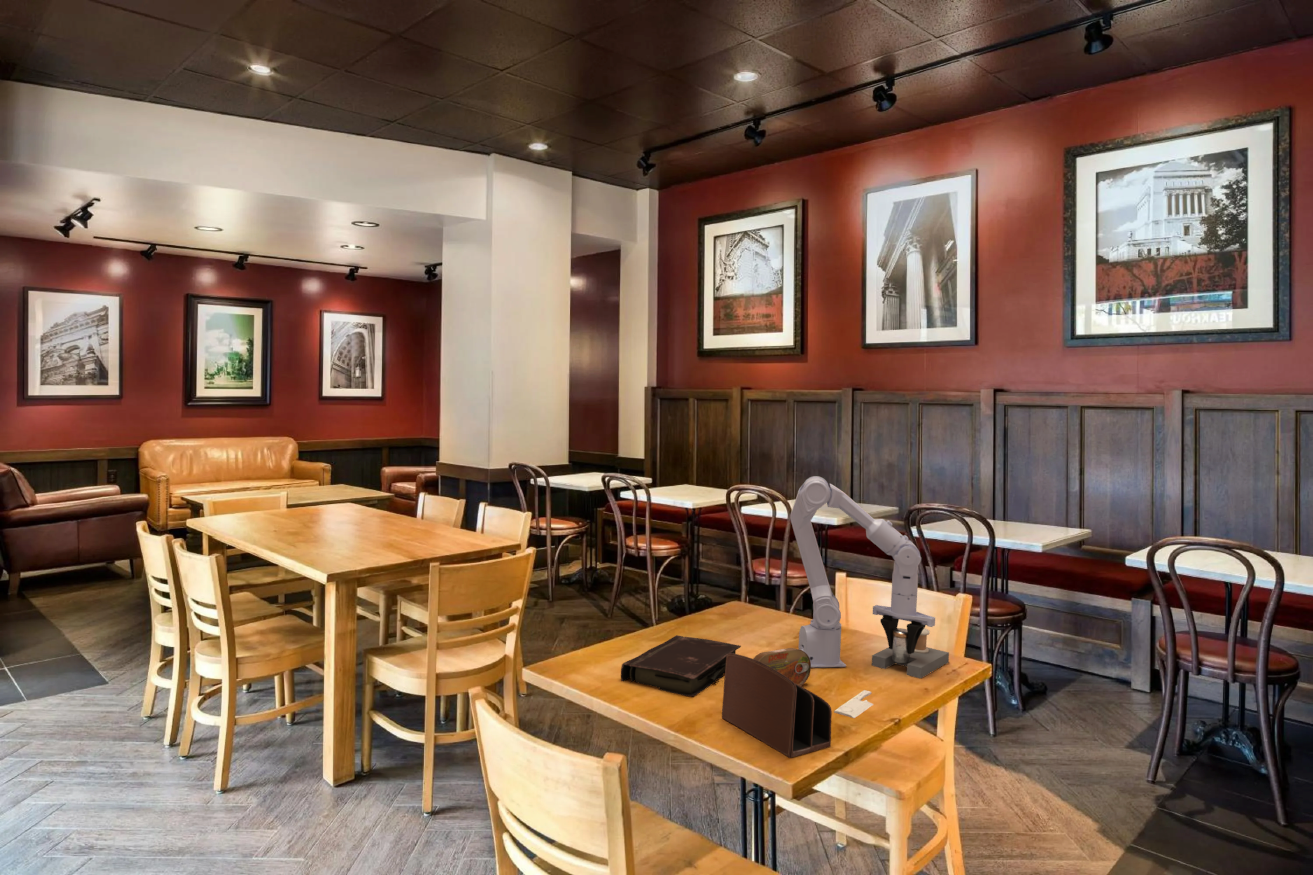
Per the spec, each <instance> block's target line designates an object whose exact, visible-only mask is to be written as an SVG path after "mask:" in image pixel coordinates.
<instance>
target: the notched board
mask: <svg viewBox="0 0 1313 875" xmlns="http://www.w3.org/2000/svg"><path fill="white" fill-rule="evenodd" d="M930 632H931V631H930V630H929V629H927V628H926V627H925V628H924V629H923V631H922V633H921V634H920V636H919V638H918V641H917V644H916V647H915V651H914V653H912V654H910V662H908V663H899V662H895V661H893V660H892V649H889V646H888V647H886V648H884V649H882V650H880V651H878V652H876V653H874V654H872V655H871V666H873V667H876V668H880V669H884V670H886V669H887V668H889V667H891V666H894V665H898V666H902V667H906V676H909V677H914V678H917V679H920V678H921V679H922V678H924V677H926V676H927V675H930V674H931V673H933V672H934V670H935V671H936V669H937V668H938V669H940V668H941V666H942V667H943V665H944V664H945V665H948V664H949V663H950V662H949V660H950V659H949V658H950V652H948V651H944V650H940V649H937V648H932V647H928V646H927V639H928V635H930ZM945 665H944V666H945ZM938 669H937V670H938ZM932 671H933V672H932ZM930 672H931V673H930Z"/></svg>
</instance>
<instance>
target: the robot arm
mask: <svg viewBox="0 0 1313 875" xmlns="http://www.w3.org/2000/svg"><path fill="white" fill-rule="evenodd" d="M824 505H827V508H832V509H838V510H841V511H842V512H843V513H845V514H846V515H847V516H848V517H850V518H851V519H852V520H853V521H855V522H856V523H857V524H859V525H860V526H861V527H862V528H863V529H865V535H866V538H867V539H868V540H869V541H870V542H872V543H873V544H874V545H876V547H878V548H879V549H880V550H881V551H882V552H884V554H886V555H888V556H891V557H892V559H893V560H894V561H893V570H892V573H891V574H892V576H891V577H892V580H891V595H890V600H891V601H890V606H886V605H878V604H876V605H873V606H872V615H874V616H882V618H880V624H881V626H882V627H883V630H884V633H885V635H886V640H887V644H888V647H889V649H892V646H893V629H896V628H898V625H899V621H900V620H901V621H905V622H911V623H907V624H906V629H907V632H908V654H912V653H914V651H915V647H916V644H917V641H918V638H919V636H920V634H921V633H922V631H923V629H924V628H925V629H926V626H927V627H930V628H933V627H935V625H936V617H935V616H931V615H928V614H925V613H922V612H918V611H917V608H918V607H917V605H918V601H917V600H918V588H919V587H918V586H919V573H918V572H919V565H920V563H921V562H922V557H921V552H920V550H919V548H917V545H915V544H914V543H913V541H912V540H910V539H909V537H908V536H907V535H906V534H904V535H903V534H901V533H900V532H899V531H898V530H897V529H895V527H893V525H894V524H893V523H892V521H890V520H889V519H888V520H885V519H884V518H874V517H872V516H871V515H870V514H869V513H868V512H867V511H866V510H865V509H863V507H861V506H860V505H859V504H858V503H857V502H856V501H854V500H853V499H852V498H851V497H850V496H849V495H848V494H846V493H845V492H844V491H842V490H841V489H840V488H838V487H837V486H835V485H833V484H832V483H828V481H827V480H826V479H825V478H823V477H821V476H819V475H818V476H816V475H813V476H810V477H808V478H807V479H806V480H805V481H804V483H802V485H800V487H799V489H798V491H797V494H796V498H795V501H794V504H793V505H792V510H791V511H790V523H791V525H792V529H793V534H794V536H795V540H796V543H797V547H798V550H799V553H800V554H799V555H800V558H801V562H802V565H803V569H804V571H805V574H806V578H807V581H808V582H807V583H808V585H809V588H810V593H811V597H812V602H813V604H812V610H813V612H812V613H813V615H812V616H813V618H812V619H811V620H810V623H809V624H806V625H801V626H800V629H799V633H798V649H799V650H802V651H804V652H805V653H806V654H807V655H808V657H809V659H810V662H811V668H846V667H847V664H846V663H845V662H844V661H842V660H841V644H842V641H841V640H842V623H841V619H842V613H841V609H840V601H839V600H838V598H837V597H836V596H835V595H834V593H833V591H832V588H831V586H830V583H829V580H828V575H827V572H826V568H825V566H824V563H823V562H824V561H823V557H822V556H821V551H820V548H819V545H818V541H817V538H816V535H815V531H814V527H813V524H812V520H813V518H814V516H815V515H816V513H817V511H819V509H820V508H822V507H823V506H824Z"/></svg>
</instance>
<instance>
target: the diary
mask: <svg viewBox="0 0 1313 875" xmlns="http://www.w3.org/2000/svg"><path fill="white" fill-rule="evenodd" d="M741 647H742V645H739V644H734V643H730V642H723V641H720V640H719V641H718V640H713V639H707V638H700V637H698V638H697V637H690V636H682V635H678V634H677V635H674V636H672V637H671V638H670V639H668V640H666V641H664V642H663V643H662V642H661V643H659V644H658V645H656V646H654V647H651V648H649V649H648V650H646V651H645V652H642V653H641V654H639V655H638V656H636V657H633V658H631V659H629V660H627V661H625V662H623V663H622V664H621V668H620V678H621V680H620V681H621V682H624V681H626V680H629V679H630V682H629V683H630V684H631V683H634V682H635V683H636V684H640V685H641V684H642V685H645V686H649V687H653V688H657V690H660V691H663V692H668V693H671V694H676V695H679V696H683V697H696V696H697V695H699V694H700V693H701V692H703V691H704V690H706V689H707V688H710V687H711V686H712V685H713V684H714V683H716V682H717V681H718V680H720V679H722V678H723V677H725V668H726V656H727V655H728V654H729V653H734V654H737V653H736V651H737V650H738V649H740V648H741Z"/></svg>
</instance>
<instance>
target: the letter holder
mask: <svg viewBox="0 0 1313 875" xmlns="http://www.w3.org/2000/svg"><path fill="white" fill-rule="evenodd" d="M724 675H725V676H723V677H724V680H723V693H722V694H723V696H722V708H721V718H722V720H724V721H726V722H727V723H729V724H732V725H733V726H735V727H736V728H738V729H740V730H742V731H743V732H745V733H747V734H748V735H750V736H752V737H754V738H755V739H757V740H759V741H760V742H762V743H763V744H766V745H767V746H769V747H770V748H773V749H774V750H775V751H777V752H779V753H781V754H783V755H784V756H786V757H788V758H789V759H790V758H795V757H799V756H802V755H803V756H804V755H805V754H810V753H813V752H816V751H820V750H824V749H827V748H830V747H831V743H832V742H831V741H832V714H833V712H832V707H831V706H830V704H829V703H828V702H827V700H825V699H823V698H822V697H820V696H819V695H817V694H815V693H814V692H812V691H811V690H809V689H807V688H805V687H803V685H802V686H800V685H798V684H796V683H794V682H793V681H792V680H790V679H789V678H787V677H786V676H784V675H783V674H781V673H780V672H778V671H776V670H775V669H773V668H771V667H769V666H767V665H765V664H763V663H761V662H759V661H757V660H755V659H753V658H751V657H748V656H745V655H741V654H737V653H736V654H734V653H729V654H728V655H727V656H726V668H725V674H724Z"/></svg>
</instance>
